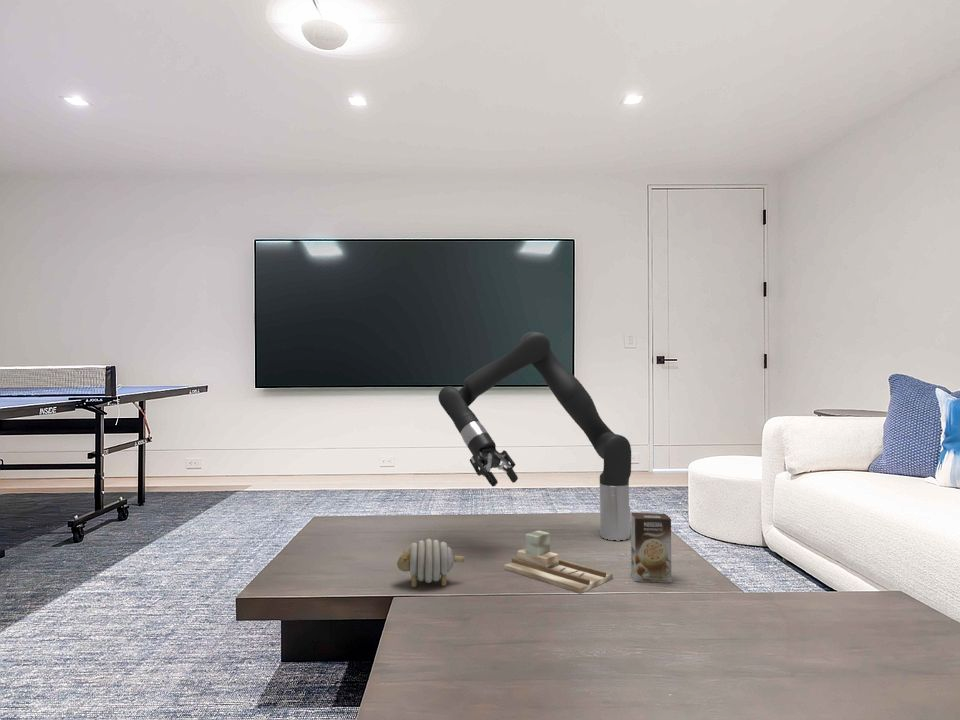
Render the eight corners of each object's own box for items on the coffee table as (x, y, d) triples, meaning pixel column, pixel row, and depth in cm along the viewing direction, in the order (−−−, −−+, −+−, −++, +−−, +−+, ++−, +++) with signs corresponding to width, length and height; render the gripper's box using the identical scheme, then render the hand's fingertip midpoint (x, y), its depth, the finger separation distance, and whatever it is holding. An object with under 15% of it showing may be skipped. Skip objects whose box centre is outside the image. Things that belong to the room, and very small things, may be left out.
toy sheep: (396, 578, 148) (396, 535, 148) (461, 574, 151) (460, 532, 151) (397, 593, 138) (397, 547, 138) (466, 588, 140) (466, 543, 141)
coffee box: (635, 582, 144) (634, 518, 144) (631, 573, 150) (629, 512, 150) (672, 583, 143) (671, 518, 143) (666, 574, 149) (665, 512, 150)
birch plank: (537, 557, 164) (537, 549, 164) (612, 578, 146) (612, 569, 146) (504, 569, 154) (504, 560, 154) (580, 593, 137) (580, 584, 137)
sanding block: (530, 557, 161) (530, 528, 161) (558, 565, 153) (558, 535, 154) (517, 561, 157) (517, 532, 157) (546, 570, 150) (545, 539, 150)
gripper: (466, 433, 166) (495, 477, 157) (500, 430, 176) (528, 471, 167) (454, 450, 169) (481, 494, 161) (488, 445, 179) (515, 487, 171)
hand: (505, 482), depth 164 cm, fingers open, 8 cm apart
